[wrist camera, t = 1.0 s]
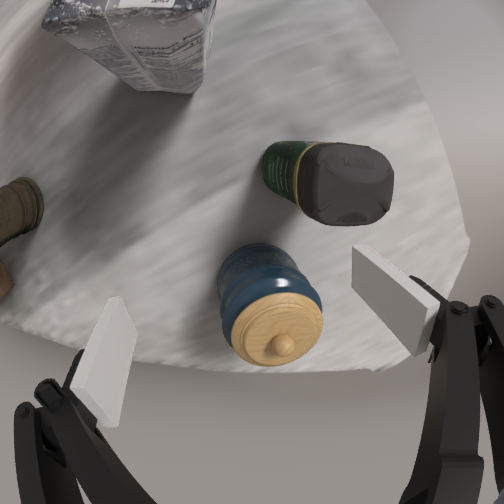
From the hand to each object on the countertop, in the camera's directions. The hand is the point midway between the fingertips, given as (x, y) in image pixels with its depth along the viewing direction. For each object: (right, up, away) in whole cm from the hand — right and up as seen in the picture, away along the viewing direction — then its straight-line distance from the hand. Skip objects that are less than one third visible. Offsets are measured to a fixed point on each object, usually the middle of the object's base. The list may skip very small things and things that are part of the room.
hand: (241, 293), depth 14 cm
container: (-37, +10, +18) cm, 42 cm away
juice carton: (-11, +28, +16) cm, 33 cm away
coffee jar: (+7, +15, +24) cm, 29 cm away
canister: (+1, -2, +30) cm, 30 cm away
